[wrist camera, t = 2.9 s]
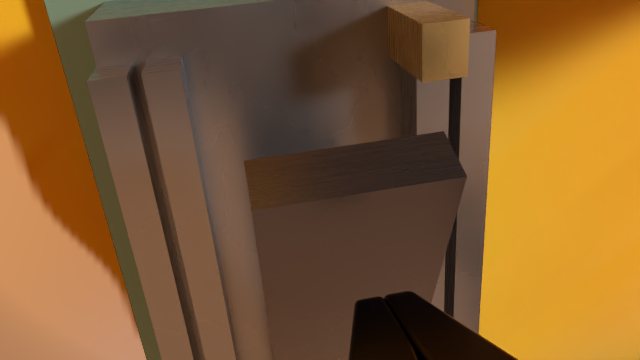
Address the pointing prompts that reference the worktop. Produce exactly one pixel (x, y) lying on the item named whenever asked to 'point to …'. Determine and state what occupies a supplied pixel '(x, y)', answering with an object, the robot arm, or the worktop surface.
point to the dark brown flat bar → (349, 233)
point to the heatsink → (273, 136)
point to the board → (102, 145)
